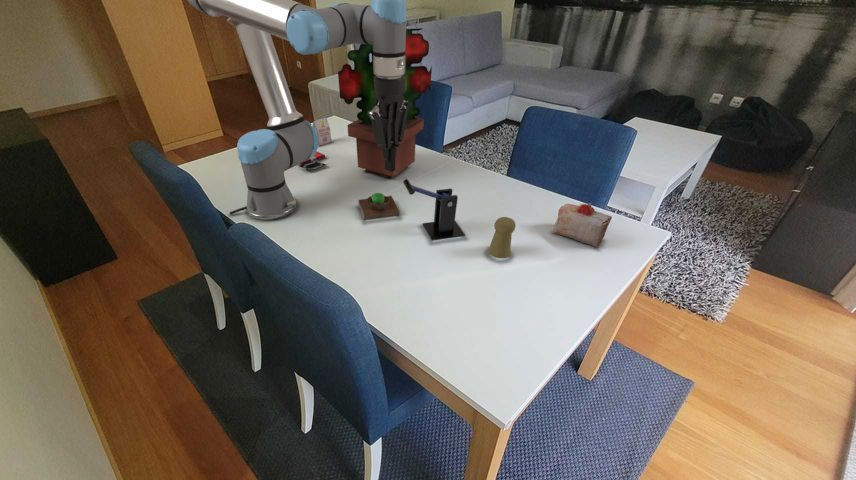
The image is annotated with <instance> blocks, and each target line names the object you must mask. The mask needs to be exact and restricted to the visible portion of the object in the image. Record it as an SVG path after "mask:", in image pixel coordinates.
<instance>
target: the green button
mask: <svg viewBox="0 0 856 480" xmlns="http://www.w3.org/2000/svg"><path fill="white" fill-rule="evenodd" d="M384 195H385V194H384V193H381V192H375V193H373V194H371V196H372V202H373V203H376V204H379V203H383V202H384V201H385V198H384Z"/></svg>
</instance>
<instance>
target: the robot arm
mask: <svg viewBox="0 0 856 480" xmlns="http://www.w3.org/2000/svg"><path fill="white" fill-rule="evenodd" d="M187 2H188V3H189V4H190V5H191V6H192V7H193V8H194V9H196V10H197V11H199V12H201V13H203V14H206V15H208V16H210V17H214V18H220V17H223V16H224V18H225V20H226V22H227V23H228V24H229V25H231V26H232V27H233V28H235V31H236V33H237V36H238V38H239V41H240V44H241V46H242V49H243V52H244V55H245V58H246V60H247V63H248V65H249V69H250V71H251V74H252V76H253V79H254V81H255V84H256V87H257V89H258V92H259V95H260V98H261V100H262V103H263V105H264V108H265V110H266V113H267V116H268V121H267V124H266V127H267V129H266V128H261V129H258V130H251V131H249V132H246V133H245V134H243V135H242V136H241V137H240V138H239V139H238V141H237V144H236V147H237V154H238V156H237V157H238V160H239V161H240V165H241V169H242V173H243V176H244V181H245V184H246V187H247V196H246V206H243V207H240V208H237V209H234V210H231V211H230V212H229V215H233V214H237V213H239V212H241V211H242V212H243V211H245V210H247V213H248V215H249V216H250V217H251V218H253V219H255V220H259V221H273V220H278V219H283V218H284V217H287V216H289V215H291V214H292V213H293V212H294V211H295V209H296V207H297V200H296V199H295V197H294V195H293V193H292V192H291V189H290V188H289V186H288V185H287V181H286V177H285V172H286V171H287V170H290V169H291V168H293V167H296V166H299V165H301V164H300V163H302V162H305V161H307V160H308V159H309V158H311V157H312V156H314V155H315V153H316V151H317V152H318V148H319V146H318V135H317V132H316V130H315V128H314V127H313V125H312V123H311V122H309V120H305V118H304V117H305V116H304V115H303V114H302V113H301V112H299V111H298V110H297V109H296V106H295V103H294V100H293V96H292V94H291V91H290V88H289V86H288V82H287V79H286V76H285V73H284V71H283V68H282V67H283V66H282V65H281V62H280V59H279V58H280V57H279V55H278V53H277V49H276V46H275V44H274V41H273V38H272V36H274V37H277V38H280V39H282V40H285V41H288V42H289V44H290V45H291V47H292V48H293V49H294V50H295V51H296V52H297V53H299V54H301V55H305V56H307V55H318V54H320V53H322V52H326V51H330V50H333V49H338V48H341V47H345V46H350V45H354V44H357V45H361V44H368V45H373V70H374V74H375V75H376V76H375V77H374V92H375V94H376V101H375V107H374V108H373V110H372V111H371V110H369V111H368V116H369V117H370V119H371V122H372V127H373V131H374V135H375V140H376V144H377V146H379V147H382V148H383V158H384V159H385V169H386V170H388V171H390V172H393V171H395V157H396V156H397V147H399V146H400V144H398V143H399V142H402V141H403V137H404V131H405V126H406V120H407V114H408V111H409V108H410V106H411V103H409V102H406V101H405V100H404V97H403V94H404V92H405V77H404V76H403V75H404V74H405V51H406V50H405V44H406V29H407V22H408V18H407V0H371V2H370V3H371V4H368V5H367V4H356V3H348V2H343V3H342V2H341V3H334V4H332V5H331V6H330V7H321V8H315V7H312V6H309V5H306V4H303V3H300V2H298V1H295V0H187ZM379 113H380V114H379Z"/></svg>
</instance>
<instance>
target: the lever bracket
mask: <svg viewBox="0 0 856 480" xmlns="http://www.w3.org/2000/svg"><path fill="white" fill-rule="evenodd" d="M443 192H444V193H447V194H450V195H451V196H444V197H441V202H440V201H439V199H437V198H435V200H434V201H435V203H434V213H433V214H434V215H433V221H429V222H423V223H422V226H423V228H424V230H425V232H426V233H427V235H428V237H429V239H430V240H431V242H434V241H440V240H446V239H447V240H448V239H454V238H459V237H460V238H461V237H465V236H466V234H465V233H464V231H463V230H462V228H461V227H460V226H459V224H458V223H457V221H456V213H457V207H458V196H459V195H457V194H453V189H452V188H444V189H436V192H435V193H437V194H440V195H442V193H443Z"/></svg>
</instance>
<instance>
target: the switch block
mask: <svg viewBox="0 0 856 480" xmlns="http://www.w3.org/2000/svg"><path fill="white" fill-rule="evenodd" d="M384 198H385V201H384V202H383V203H379V204H376V203H373V202H372V195H370V196H369V197H367V198H361V199H358V201H357V203H358V207H359V210H360V212H361V216H362V218H363V221H368V220H369V221H370V220H376V219H384V218H385V219H386V218H391V217H399V216H400V209H399V207H398V206H397V204H396V201H395V200H394V198H393V196H392V195H385V194H384Z"/></svg>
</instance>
